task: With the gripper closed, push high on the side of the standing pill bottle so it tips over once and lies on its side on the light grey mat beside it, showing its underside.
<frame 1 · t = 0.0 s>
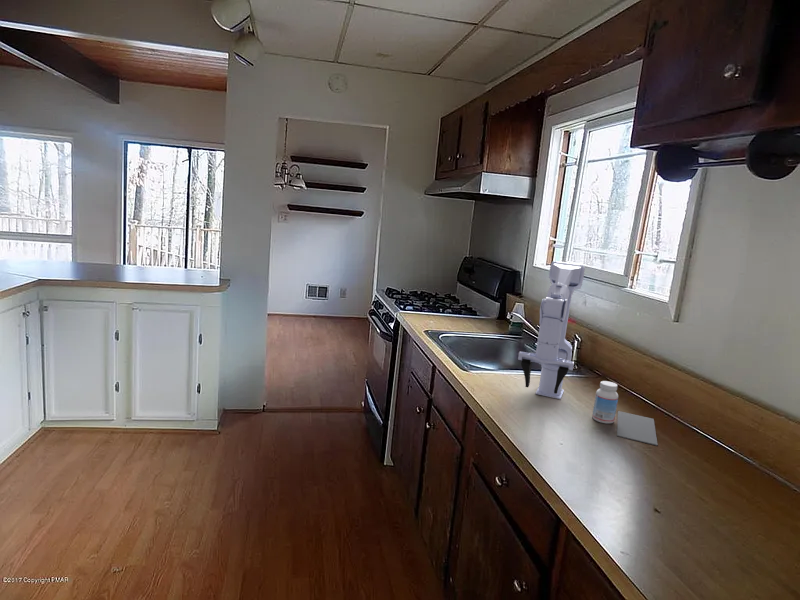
hand: (541, 389, 141), 10 cm above the worktop, tool pointing down, fingers open, 7 cm apart
mat: (636, 427, 147), on the worktop
pill bottle: (602, 420, 150), on the worktop
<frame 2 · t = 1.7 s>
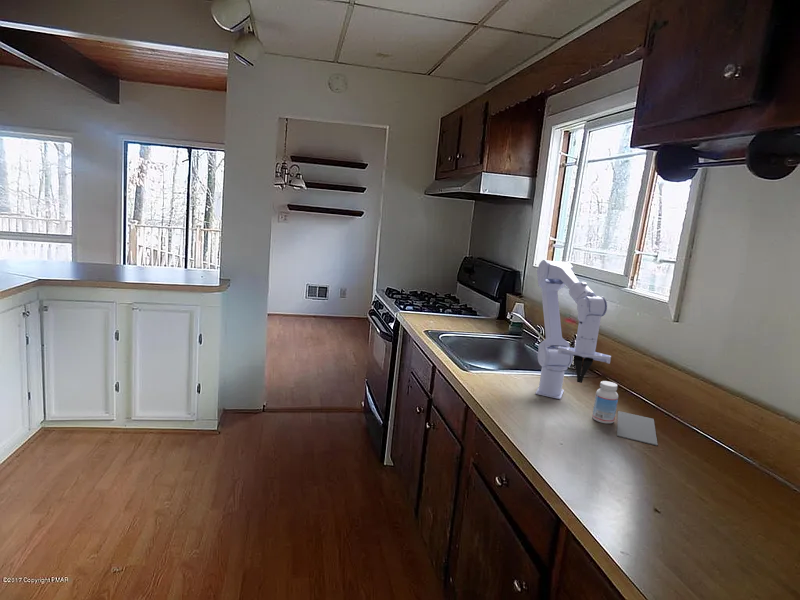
hand: (579, 381, 151), 10 cm above the worktop, tool pointing down, fingers closed
nothing on the worktop moved.
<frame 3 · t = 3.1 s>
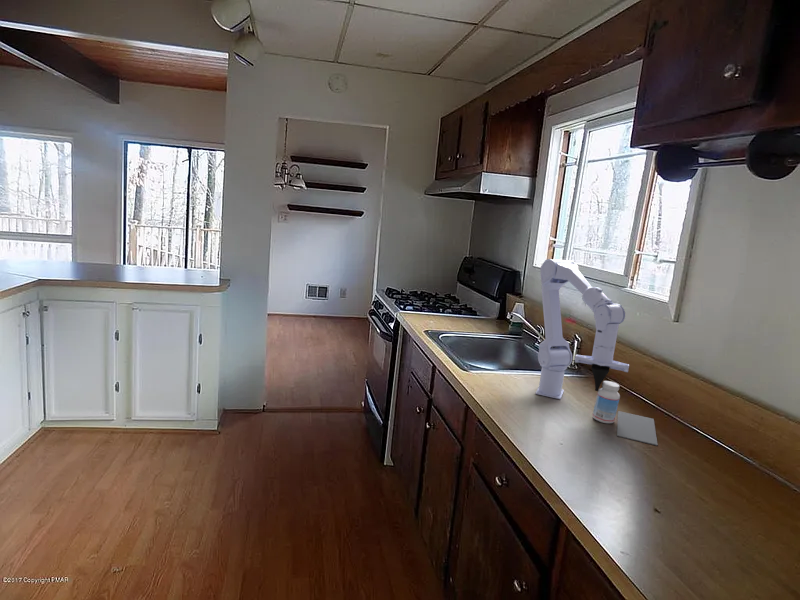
hand: (596, 390, 149), 9 cm above the worktop, tool pointing down, fingers closed
pill bottle: (602, 420, 150), on the worktop, touching gripper
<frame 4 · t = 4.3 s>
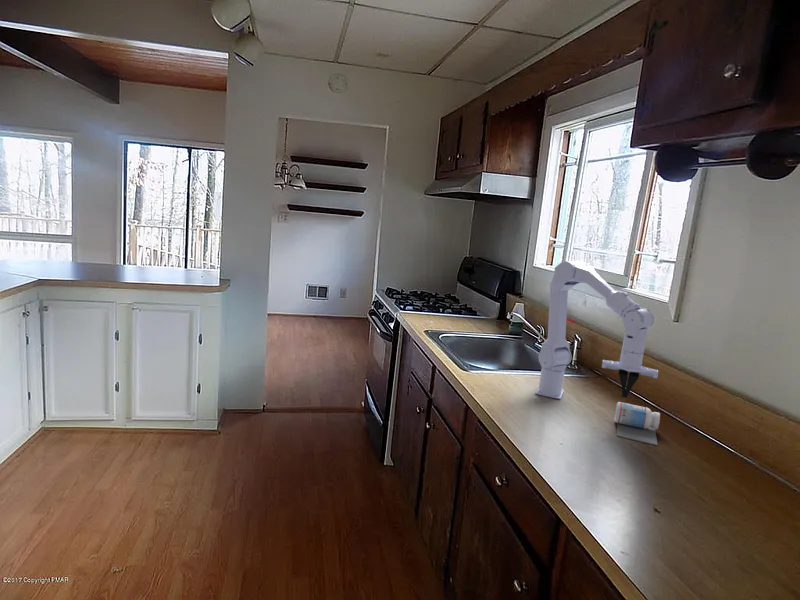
hand: (624, 396, 147), 8 cm above the worktop, tool pointing down, fingers closed
pill bottle: (614, 411, 148), point 3 cm above the worktop, touching mat
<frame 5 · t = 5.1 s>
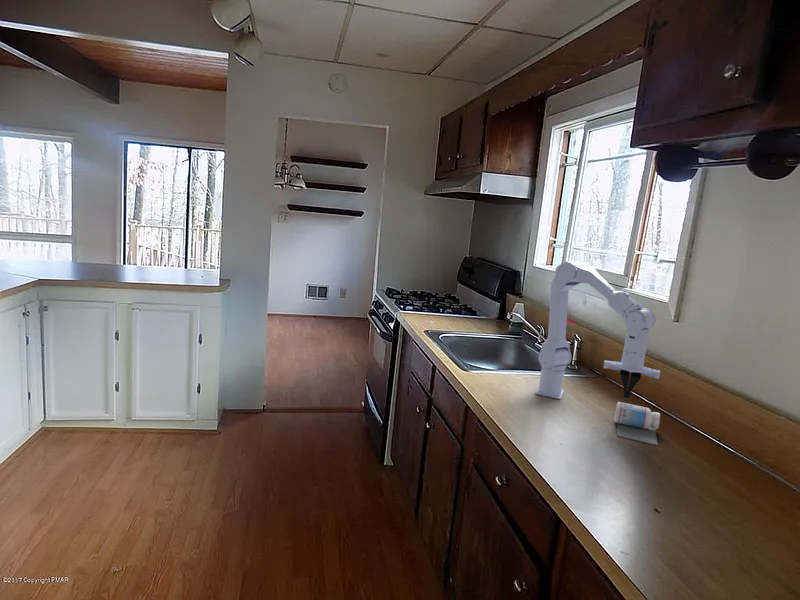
hand: (626, 396, 147), 8 cm above the worktop, tool pointing down, fingers closed
nothing on the worktop moved.
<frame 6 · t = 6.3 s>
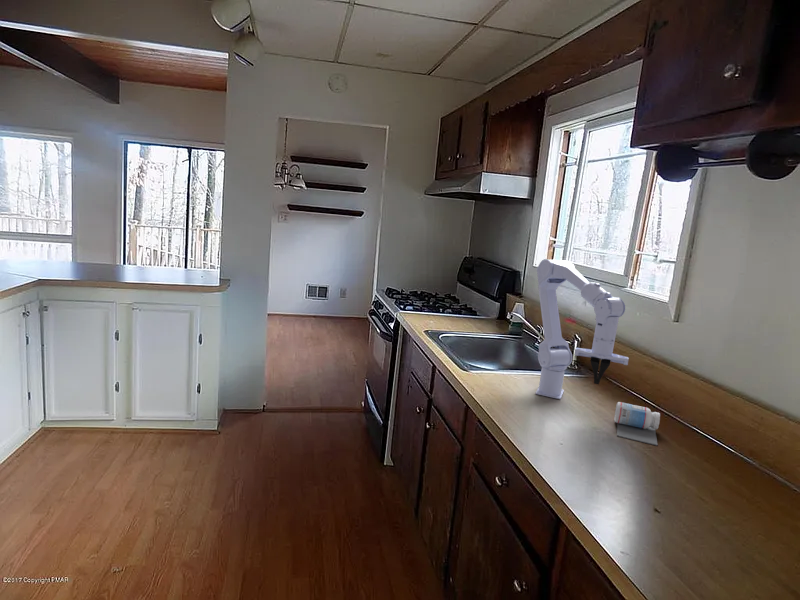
hand: (596, 383, 150), 10 cm above the worktop, tool pointing down, fingers closed
nothing on the worktop moved.
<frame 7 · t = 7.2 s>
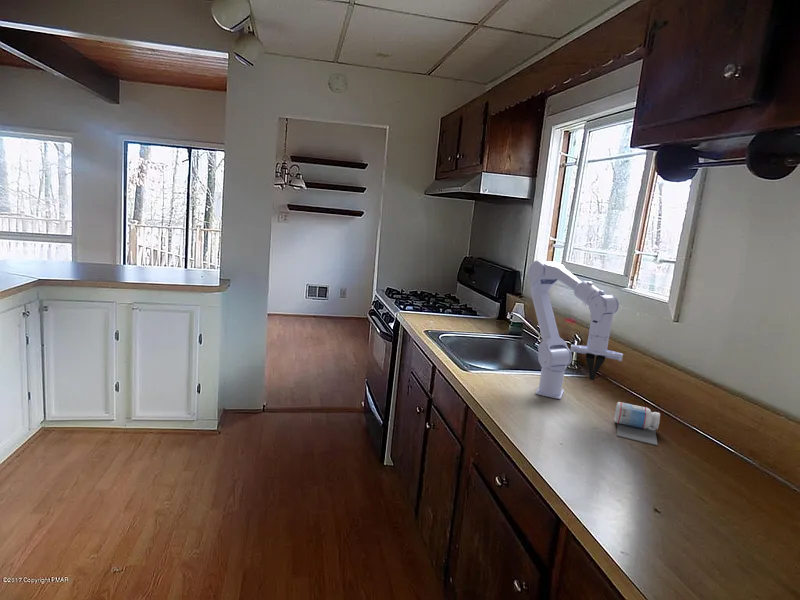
hand: (591, 379, 153), 10 cm above the worktop, tool pointing down, fingers closed
nothing on the worktop moved.
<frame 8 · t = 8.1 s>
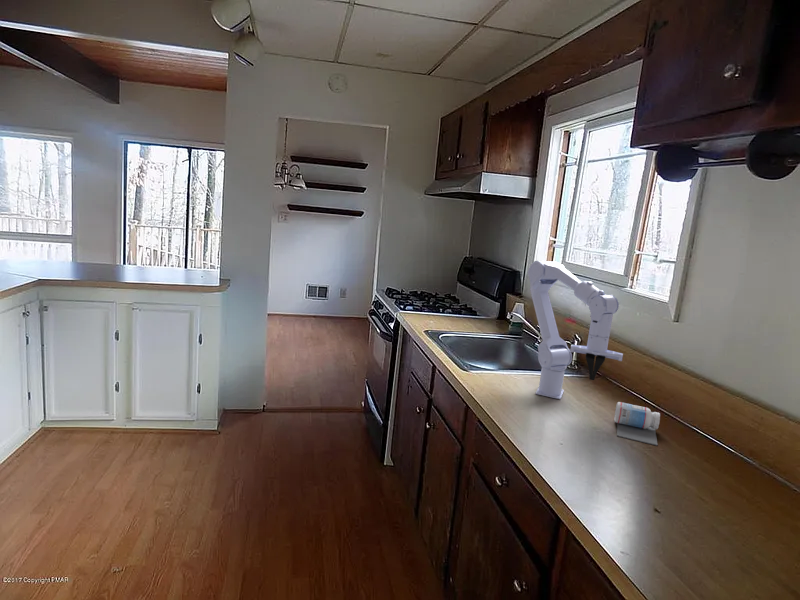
hand: (591, 379, 153), 10 cm above the worktop, tool pointing down, fingers closed
nothing on the worktop moved.
at the end: pill bottle tilted 91°; pill bottle touching mat; pill bottle inside the target area (4.2 cm from its centre), point 3.4 cm above the worktop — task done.
